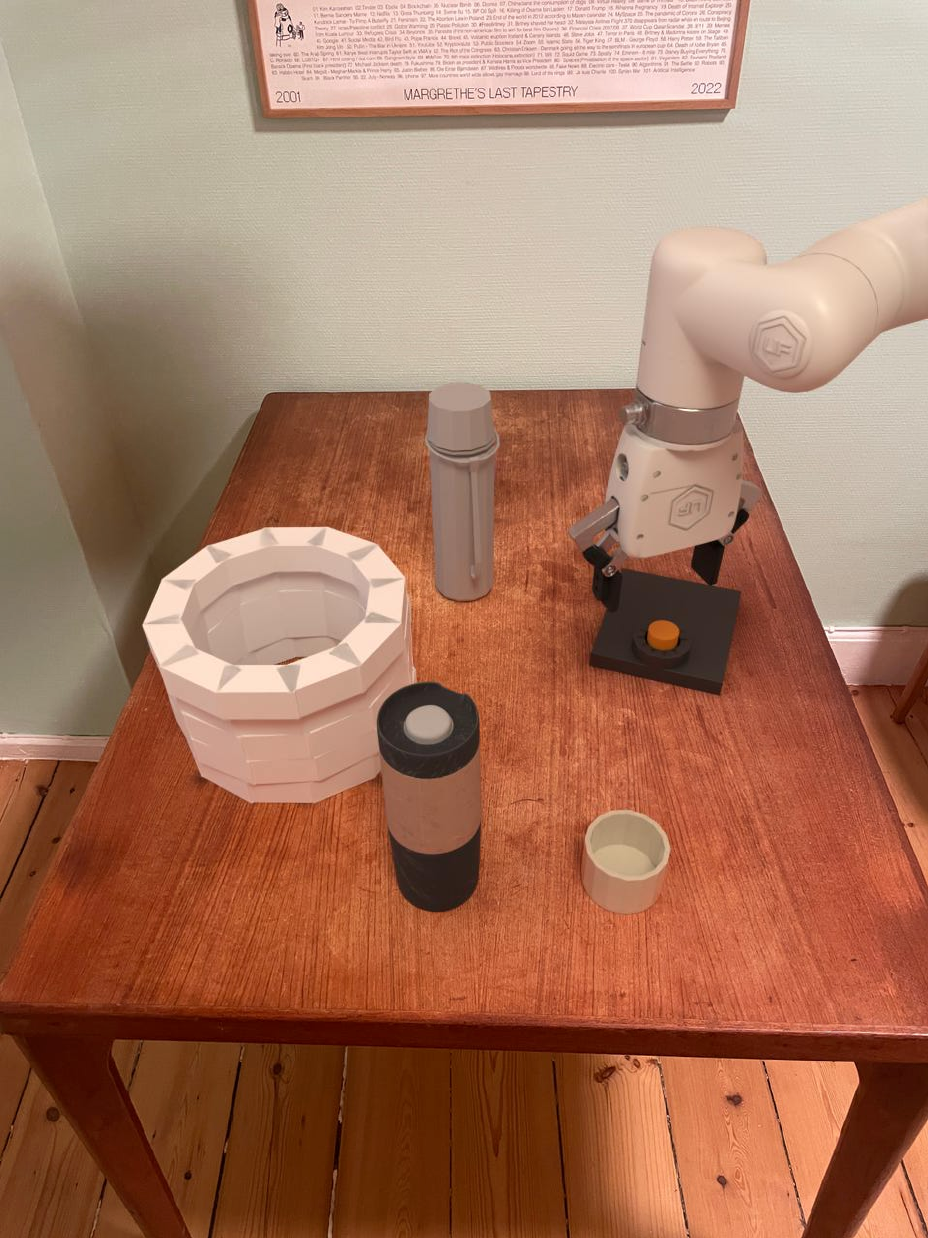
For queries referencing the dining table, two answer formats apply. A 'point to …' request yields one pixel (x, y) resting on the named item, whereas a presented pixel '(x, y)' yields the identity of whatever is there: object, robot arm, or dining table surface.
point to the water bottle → (462, 488)
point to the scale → (687, 605)
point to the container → (283, 659)
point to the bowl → (624, 861)
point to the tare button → (663, 635)
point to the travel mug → (432, 792)
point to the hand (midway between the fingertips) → (655, 589)
